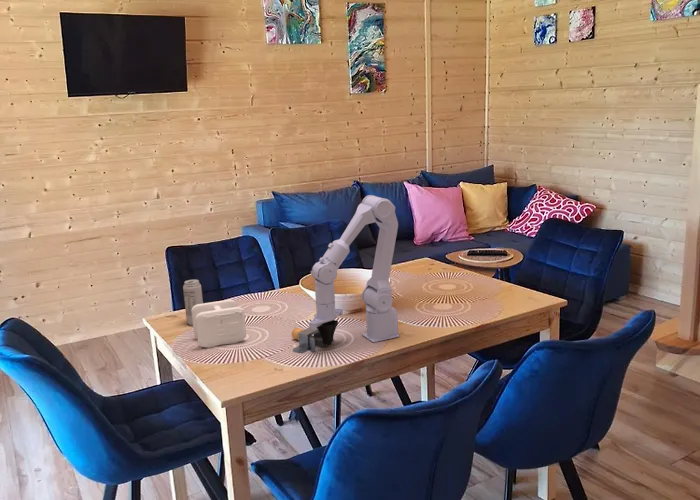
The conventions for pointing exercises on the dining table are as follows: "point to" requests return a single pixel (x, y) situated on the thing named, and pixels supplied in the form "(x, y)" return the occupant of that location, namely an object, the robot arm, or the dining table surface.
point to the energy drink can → (192, 297)
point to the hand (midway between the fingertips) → (327, 344)
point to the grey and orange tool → (317, 339)
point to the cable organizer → (218, 323)
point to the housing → (307, 340)
